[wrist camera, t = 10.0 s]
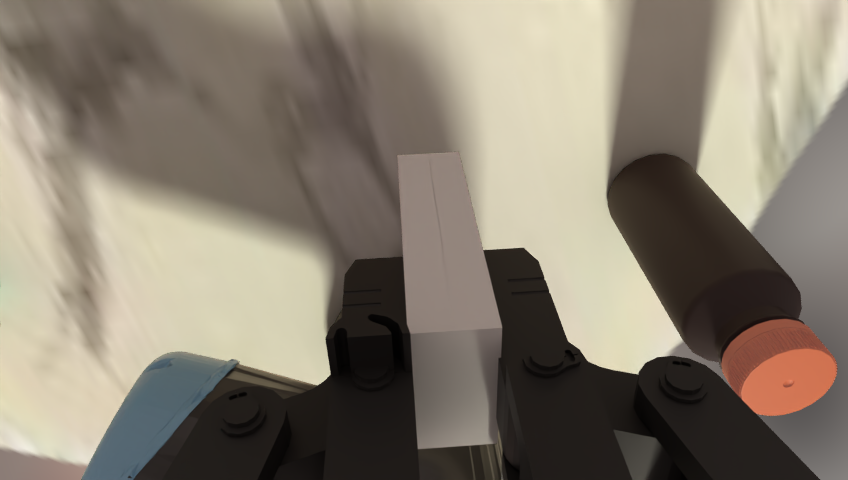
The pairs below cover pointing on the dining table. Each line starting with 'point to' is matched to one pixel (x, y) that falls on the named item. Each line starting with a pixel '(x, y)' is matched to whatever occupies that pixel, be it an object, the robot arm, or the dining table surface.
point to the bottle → (720, 286)
